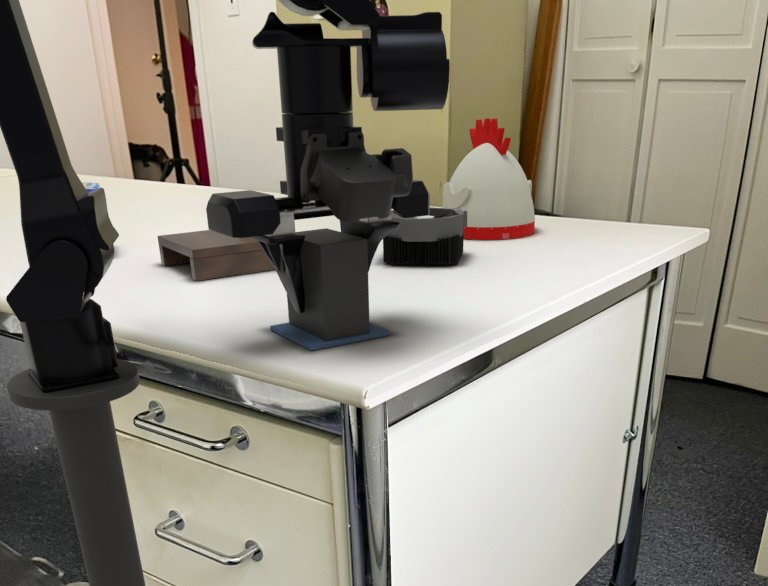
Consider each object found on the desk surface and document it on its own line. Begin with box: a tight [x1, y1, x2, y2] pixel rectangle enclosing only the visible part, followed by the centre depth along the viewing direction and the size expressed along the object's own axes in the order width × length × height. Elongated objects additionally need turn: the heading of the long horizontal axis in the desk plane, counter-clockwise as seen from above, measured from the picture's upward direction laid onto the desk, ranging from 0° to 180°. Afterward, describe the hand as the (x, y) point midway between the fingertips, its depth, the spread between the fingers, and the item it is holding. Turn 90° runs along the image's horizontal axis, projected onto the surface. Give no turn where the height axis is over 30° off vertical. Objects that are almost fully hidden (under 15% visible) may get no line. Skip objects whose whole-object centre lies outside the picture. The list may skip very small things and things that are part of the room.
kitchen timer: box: [441, 117, 536, 241], centre depth 115 cm, size 14×14×15 cm
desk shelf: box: [157, 229, 276, 282], centre depth 99 cm, size 12×12×6 cm
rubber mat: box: [269, 322, 391, 352], centre depth 73 cm, size 8×8×1 cm
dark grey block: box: [286, 227, 371, 341], centre depth 71 cm, size 4×7×8 cm, turn 33°
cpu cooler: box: [382, 206, 467, 266], centre depth 100 cm, size 10×6×10 cm
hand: (327, 307), depth 72 cm, fingers open, 5 cm apart
